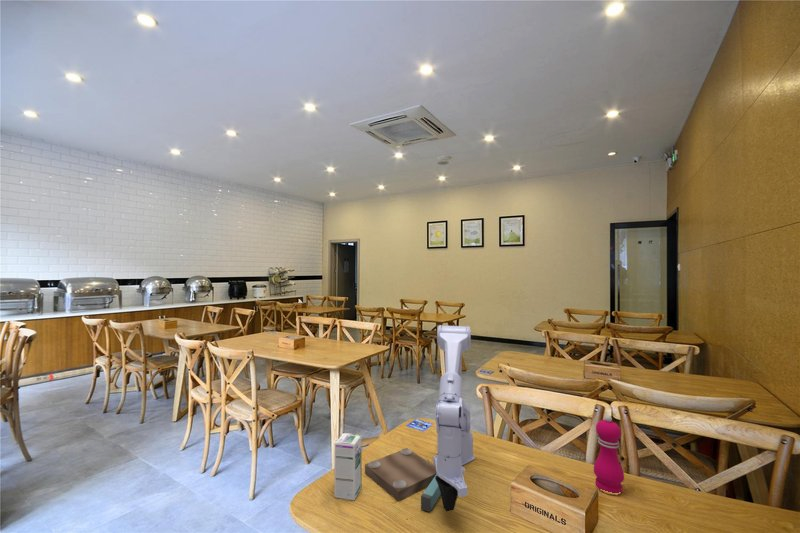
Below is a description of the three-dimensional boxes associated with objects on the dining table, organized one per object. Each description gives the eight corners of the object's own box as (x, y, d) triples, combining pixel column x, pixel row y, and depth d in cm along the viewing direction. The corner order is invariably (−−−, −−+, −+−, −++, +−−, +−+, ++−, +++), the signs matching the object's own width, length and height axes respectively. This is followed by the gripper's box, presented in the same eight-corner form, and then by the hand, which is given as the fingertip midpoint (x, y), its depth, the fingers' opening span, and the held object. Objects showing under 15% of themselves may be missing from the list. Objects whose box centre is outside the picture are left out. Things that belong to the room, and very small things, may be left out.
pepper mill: (626, 488, 95) (626, 415, 96) (621, 500, 90) (620, 423, 90) (597, 477, 100) (597, 408, 101) (590, 488, 95) (590, 415, 95)
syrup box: (354, 501, 89) (355, 444, 89) (333, 498, 90) (334, 441, 90) (361, 487, 94) (362, 434, 95) (341, 485, 95) (342, 432, 96)
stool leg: (439, 479, 98) (439, 467, 98) (448, 481, 97) (448, 470, 97) (420, 508, 86) (420, 495, 86) (430, 512, 84) (430, 498, 84)
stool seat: (406, 455, 111) (406, 447, 111) (442, 479, 99) (442, 469, 99) (364, 473, 101) (364, 463, 101) (398, 501, 89) (398, 490, 89)
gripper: (479, 464, 78) (479, 526, 77) (450, 436, 91) (450, 488, 91) (451, 470, 75) (451, 533, 75) (426, 439, 89) (425, 493, 89)
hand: (448, 509), depth 83 cm, fingers closed
